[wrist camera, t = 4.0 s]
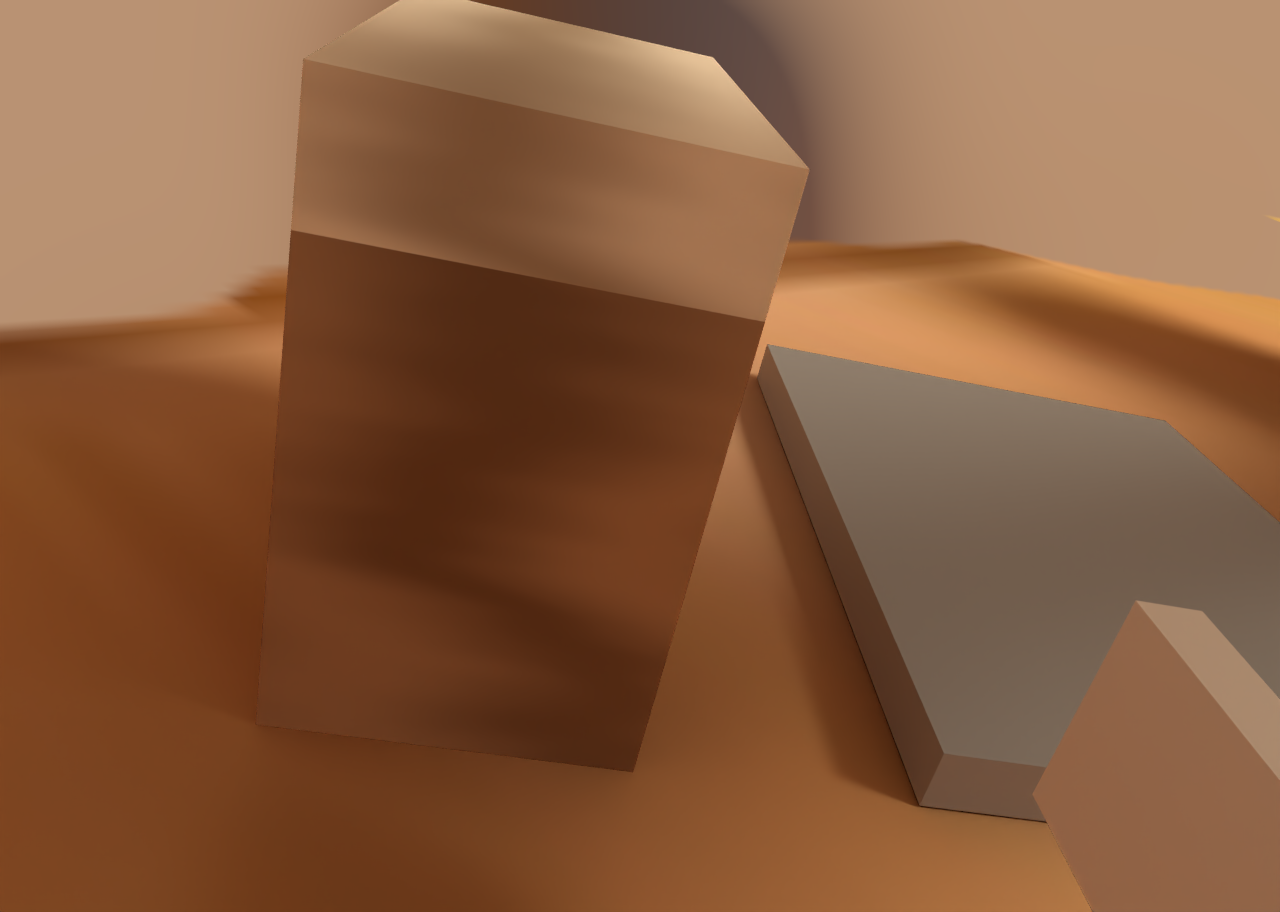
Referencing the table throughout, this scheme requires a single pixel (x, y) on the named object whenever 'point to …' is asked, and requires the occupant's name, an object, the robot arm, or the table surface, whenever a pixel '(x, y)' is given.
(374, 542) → the walnut box
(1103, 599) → the gray board
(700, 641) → the table surface
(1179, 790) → the robot arm
